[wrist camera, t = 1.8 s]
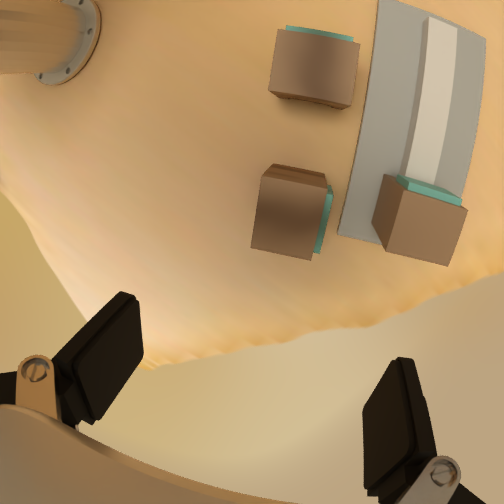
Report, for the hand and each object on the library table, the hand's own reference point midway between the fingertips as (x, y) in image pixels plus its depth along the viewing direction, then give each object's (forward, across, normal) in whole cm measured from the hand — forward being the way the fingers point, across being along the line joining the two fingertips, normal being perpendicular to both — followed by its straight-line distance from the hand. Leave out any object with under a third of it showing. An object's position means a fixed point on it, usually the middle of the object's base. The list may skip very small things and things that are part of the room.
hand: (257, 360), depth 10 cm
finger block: (+22, +1, 0) cm, 22 cm away
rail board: (+22, -10, -10) cm, 26 cm away
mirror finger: (+22, +1, -12) cm, 25 cm away
